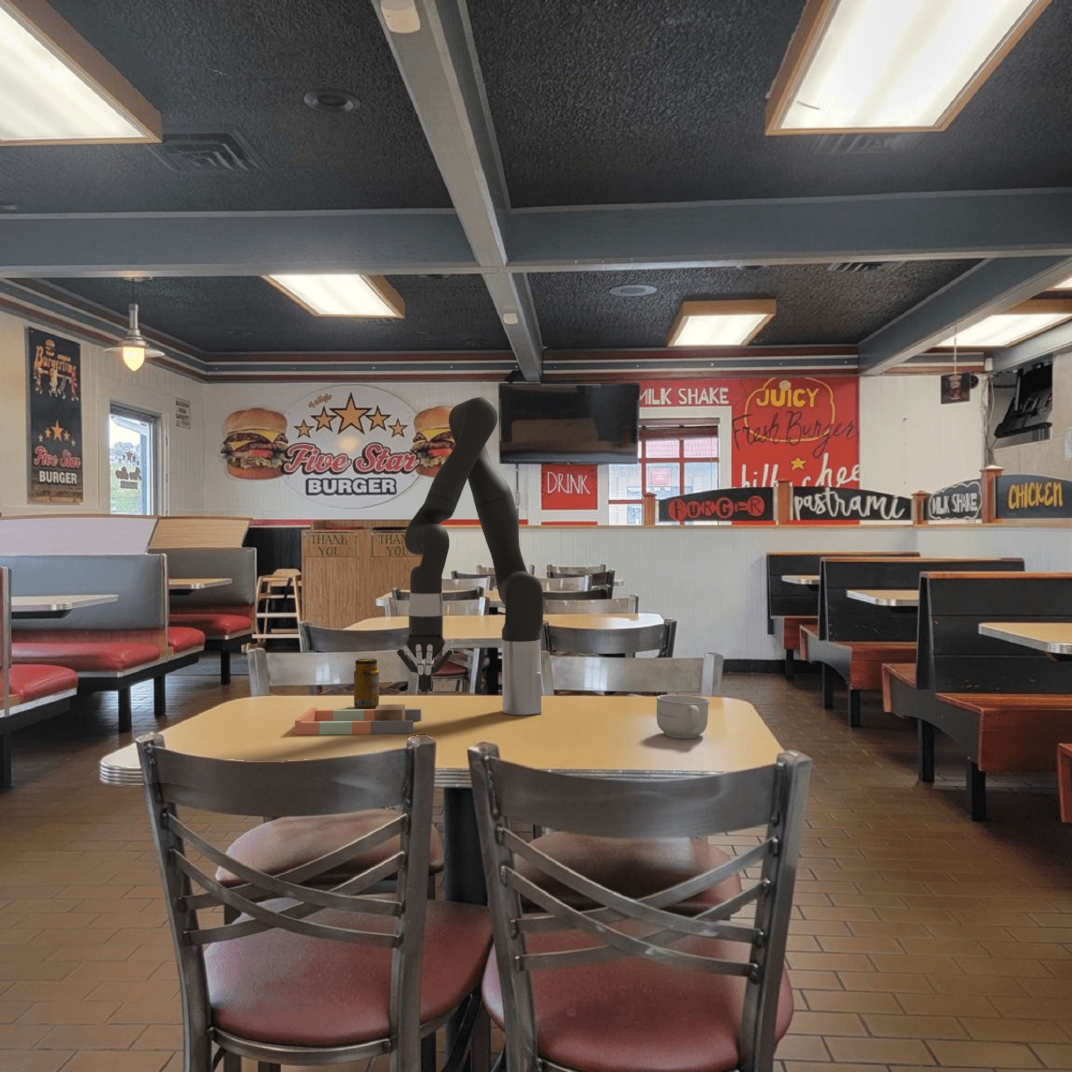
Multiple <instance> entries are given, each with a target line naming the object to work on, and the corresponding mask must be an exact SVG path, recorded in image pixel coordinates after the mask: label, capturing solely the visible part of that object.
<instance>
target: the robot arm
mask: <svg viewBox="0 0 1072 1072" xmlns="http://www.w3.org/2000/svg"><path fill="white" fill-rule="evenodd" d="M498 417H499V415H498V411H497V408H496V405H495V404H494V403H493V402H492V401H491V400H489V399H488V398H486V397H483V396H482V397H481V396H477V397H473V398H471V399H467V400H465V401H463V402H461V403H458V404H456V405H455V406H454V407H453V408H452V409H451V410H450V411H449V415H448V425H449V426H448V427H449V430H450V433H451V437H452V439H453V441H454V443H455V445H454V446H453V448H452V450H451V452H450V454H449V455H448V457H447V458H446V460H445V461H444V463H443V464H442V465H441V467H440V468H439V470H438V471H437V473H436V475H435V477H434V478H433V480H432V483H431V485H430V488H429V489H428V491H427V495H426V498H425V500H424V502H423V504H422V505H421V507H420V508H419V509H418V511H417V512H416V513H415V515H414V516H413V518H412V519H411V520H410V522H409V524H408V526H407V527H406V530H405V533H404V545H405V548H406V550H407V551H408V552H409V553H410V554H413V555H415V556H416V555H417V556H422V557H421V562H420V565H418V566H415V567H413V568H412V569H411V571H410V578H409V579H410V581H409V585H410V586H409V587H410V589H409V600H408V609H407V610H408V612H407V613H408V637H407V640H406V641H405V643H406V644H405V645H404V646H403V647H400V648H399V649H398V650H397V651H396V653H397V655H398V657H399V658H400V659H401V660H402V662H403V663H404V664H405V666H406V667H407V669H408V670H409V671H410V672H411V673H415V674H417V675H418V676H417V677H418V686H417V687H418V689H419V690H421V691H420V692H421V693H424V692H425V693H428V692H429V691H430V690H431V689H432V687H433V674H436V673H438V672H440V670H441V669H442V668H443V667H444V665H445V664H446V663H447V662H448V661H449V659H450V658H451V657H452V655H453V654H454V651H455V650H454V649H453V648H450V647H449V646H447V645H446V642H445V639H444V637H443V636H444V634H443V633H444V628H443V626H444V623H443V622H444V602H443V573H444V569H445V567H446V562H447V558H448V554H449V549H450V537H449V533H448V531H447V529H446V528H445V527H444V526H443V525H442V524H441V523H442V522H444V521H447V520H450V519H451V518H452V516H453V515H454V513H455V511H456V508H457V506H458V503H459V501H460V498H461V495H462V494H463V493H462V492H463V490H464V488H465V485H466V483H467V482H468V485H469V488H470V492H471V494H472V498H473V502H474V506H475V510H476V513H477V518H478V520H479V523H480V526H481V531H482V533H483V536H484V539H485V543H486V544H487V545H486V546H487V549H488V550H489V553H490V555H491V560H492V564H493V569H494V575H495V580H496V587H497V592H498V596H499V599H500V601H501V602H502V603H503V604H504V606H505V609H504V610H505V611H504V614H505V615H504V617H505V618H504V624H503V627H502V629H501V660H502V661H501V664H502V666H501V672H502V678H501V679H502V682H501V683H502V713H504V714H506V715H511V716H529V715H537V714H542V666H541V665H542V663H541V662H542V661H541V660H542V657H541V654H542V652H541V651H542V650H541V649H542V648H541V638H542V637H541V636H542V635H541V634H542V633H541V632H542V629H543V625H544V591H543V590H544V589H543V585H542V583H541V581H540V580H539V578H538V577H537V576H535V575H534V574H531V573H529V572H528V569H527V567H526V565H525V560H524V558H523V556H522V552H521V547H520V546H521V545H520V526H519V515H518V512H517V506H516V504H515V499H514V495H513V493H512V490H511V487H510V485H509V484H508V482H507V480H506V479H505V478H504V476H503V475H502V474H501V473H500V471H499V470H498V469H497V467H496V466H495V464H494V463H493V461H492V460H491V457H490V455H489V452H488V449H487V445H486V444H487V442H488V441H489V440H490V437H491V436H492V434H493V432H494V430H495V429H496V427H497V424H498ZM467 480H468V481H467ZM441 651H442V652H441ZM410 652H411V654H412V655H413V657H414V658H416V663H415V661H413V659H412V658H411V657H410ZM440 652H441V655H442V658H441V659H440V660H439V662H437V664H435V665H434V662H435V658H436V657H438V655H439V654H440ZM416 664H417V665H416Z"/></svg>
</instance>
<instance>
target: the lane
mask: <svg viewBox="0 0 1072 1072" xmlns="http://www.w3.org/2000/svg"><path fill="white" fill-rule="evenodd" d="M374 710H375V709H318V708H317V707H311V708H309V709H308V710H307V711H305V712H304V713H302V715H300V716H299V717H298V718H296V719H295V720H294V735H295V736H296V735H298V736H299V735H367V734H368V735H370V734H371V735H374V734H375V735H378V734H381V735H382V734H385V735H386V734H388V735H389V734H393V735H394V734H414V722H419V721H420V722H421V721H422V708H405V720H403V721H374Z"/></svg>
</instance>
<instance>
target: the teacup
mask: <svg viewBox="0 0 1072 1072" xmlns="http://www.w3.org/2000/svg"><path fill="white" fill-rule="evenodd" d="M655 699H656V723H657V727H658V728H659V729H660V730H661V732H663V733H664V735H665V736H668V737H669V738H670V737H671V738H676V739H687V740H688V739H695V738H698V737H699V736H700V735H701V734H702V733H704V732H706V729H707V726H708V719H709V704H710V700H709V699H707V698H705V697H702V696H696V695H688V694H687V695H686V694H661V695H658V696H656V698H655Z"/></svg>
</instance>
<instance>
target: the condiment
mask: <svg viewBox="0 0 1072 1072" xmlns="http://www.w3.org/2000/svg"><path fill="white" fill-rule="evenodd" d="M354 665H355V667H354V668H355V670H354V671H353V705H354V706H353V705H352V706H347V707H346V708H348V710H352V709H376V707H377V706H378V705H380V673H379V672H380V671H379V669H378V660H377V659H376V658H372V657H371V658H369V657H368V658H367V657H366V658H358V659H356V660H355V664H354Z"/></svg>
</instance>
